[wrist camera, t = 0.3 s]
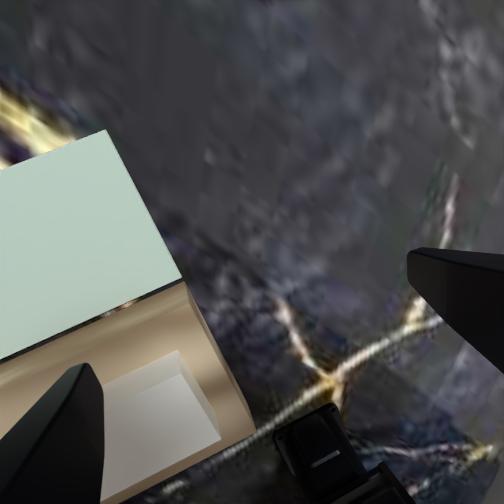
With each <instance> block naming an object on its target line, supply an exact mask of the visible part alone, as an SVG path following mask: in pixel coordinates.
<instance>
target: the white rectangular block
mask: <svg viewBox="0 0 504 504" xmlns="http://www.w3.org/2000/svg"><path fill="white" fill-rule="evenodd" d="M102 388H103V393H104V430H105V457H104V469H103V479H102V489H101V499H100V502H101V501H103V500H105V499H107V498H109V497H111V496H113V495H114V494H116V493H118V492H120V491H122V490H124V489H126V488H128V487H130V486H132V485H134V484H136V483H138V482H140V481H142V480H144V479H146V478H147V477H149V476H151V475H153V474H155V473H157V472H159V471H161V470H163V469H165V468H167V467H169V466H171V465H173V464H175V463H177V462H179V461H180V460H182V459H184V458H186V457H188V456H190V455H192V454H194V453H196V452H198V451H200V450H202V449H204V448H206V447H208V446H210V445H212V444H213V443H215V442H217V441H219V440H221V435H220V431H219V426H218V422H217V418H216V413H215V412H214V410H213V408H212V407H211V405H210V403H209V402H208V400H207V398H206V396H205V395H204V393H203V391H202V390H201V388H200V386H199V385H198V383H197V381H196V380H195V378H194V376H193V375H192V373H191V371H190V369H189V368H188V366H187V364H186V363H185V361H184V359H183V358H182V356H181V354H180V353H179V351H178V350H176V351H174V352H172V353H170V354H168V355H165V356H163V357H161V358H159V359H157V360H155V361H153V362H151V363H149V364H146V365H144V366H142V367H140V368H138V369H136V370H134V371H132V372H130V373H128V374H125V375H123V376H121V377H119V378H117V379H115V380H113V381H111V382H109V383H107V384H104V385H102Z"/></svg>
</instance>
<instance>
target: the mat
mask: <svg viewBox="0 0 504 504" xmlns="http://www.w3.org/2000/svg"><path fill="white" fill-rule="evenodd" d="M179 278H182V276H181V274H180V272H179V270H178V268H177V266H176V264H175V262H174V260H173V258H172V256H171V254H170V253H169V251H168V249H167V247H166V245H165V243H164V241H163V239H162V237H161V235H160V233H159V231H158V229H157V227H156V225H155V224H154V222H153V220H152V218H151V216H150V214H149V212H148V210H147V208H146V206H145V204H144V202H143V200H142V198H141V196H140V194H139V193H138V191H137V189H136V187H135V185H134V183H133V181H132V179H131V177H130V175H129V173H128V171H127V169H126V167H125V165H124V163H123V162H122V160H121V158H120V156H119V154H118V152H117V150H116V148H115V146H114V144H113V142H112V140H111V138H110V136H109V134H108V132H107V131H106V130H103V131H100V132H98V133H95V134H93V135H90V136H88V137H85V138H82V139H80V140H77V141H75V142H72V143H70V144H67V145H64V146H62V147H59V148H57V149H54V150H52V151H49V152H46V153H44V154H41V155H39V156H36V157H34V158H31V159H28V160H26V161H23V162H21V163H18V164H16V165H13V166H10V167H8V168H5V169H3V170H0V359H2V358H4V357H6V356H9V355H11V354H13V353H15V352H17V351H20V350H22V349H24V348H26V347H29V346H31V345H33V344H35V343H37V342H40V341H42V340H44V339H46V338H49V337H51V336H53V335H55V334H57V333H60V332H62V331H64V330H66V329H68V328H71V327H73V326H75V325H77V324H80V323H82V322H84V321H86V320H88V319H91V318H93V317H95V316H97V315H100V314H102V313H104V312H106V311H108V310H111V309H113V308H115V307H117V306H119V305H122V304H124V303H126V302H128V301H131V300H133V299H135V298H137V297H139V296H142V295H144V294H146V293H148V292H151V291H153V290H155V289H157V288H159V287H162V286H164V285H166V284H168V283H170V282H173V281H175V280H177V279H179Z"/></svg>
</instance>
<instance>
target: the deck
mask: <svg viewBox="0 0 504 504" xmlns="http://www.w3.org/2000/svg"><path fill="white" fill-rule="evenodd" d="M176 350H178V351H179V353H180V354H181V356H182V358H183V359H184V361H185V363H186V364H187V366H188V368H189V369H190V371H191V373H192V375H193V376H194V378H195V380H196V381H197V383H198V385H199V386H200V388H201V390H202V391H203V393H204V395H205V396H206V398H207V400H208V402H209V403H210V405H211V407H212V408H213V410H214V412H215V413H216V418H217V422H218V426H219V431H220V435H221V440H219V441H217V442H215V443H213V444H212V445H210V446H208V447H206V448H204V449H202V450H200V451H198V452H196V453H194V454H192V455H190V456H188V457H186V458H184V459H182V460H180V461H179V462H177V463H175V464H173V465H171V466H169V467H167V468H165V469H163V470H161V471H159V472H157V473H155V474H153V475H151V476H149V477H147V478H146V479H144V480H142V481H140V482H138V483H136V484H134V485H132V486H130V487H128V488H126V489H124V490H122V491H120V492H118V493H116V494H114V495H113V496H111V497H109V498H107V499H105V500H103V501H101V502H100V504H119V503H121V502H123V501H124V500H126V499H128V498H130V497H132V496H134V495H136V494H138V493H140V492H142V491H144V490H146V489H148V488H150V487H151V486H153V485H155V484H157V483H159V482H161V481H163V480H165V479H167V478H169V477H171V476H173V475H175V474H176V473H178V472H180V471H182V470H184V469H186V468H188V467H190V466H192V465H194V464H196V463H198V462H200V461H202V460H203V459H205V458H207V457H209V456H211V455H213V454H215V453H217V452H219V451H221V450H223V449H225V448H227V447H229V446H230V445H232V444H234V443H236V442H238V441H240V440H242V439H244V438H246V437H248V436H250V435H252V434H254V433H256V432H257V430H256V427H255V424H254V421H253V419H252V416H251V413H250V410H249V407H248V404H247V402H246V400H245V398H244V396H243V394H242V392H241V390H240V388H239V386H238V384H237V382H236V380H235V378H234V376H233V375H232V373H231V371H230V369H229V367H228V365H227V363H226V361H225V359H224V357H223V355H222V353H221V351H220V349H219V347H218V346H217V344H216V342H215V340H214V338H213V336H212V334H211V332H210V330H209V328H208V326H207V324H206V322H205V320H204V318H203V316H202V315H201V313H200V311H199V309H198V307H197V305H196V303H195V301H194V299H193V297H192V295H191V293H190V291H189V289H188V287H187V285H186V284H185V282H182V283H180V284H177V285H175V286H173V287H171V288H169V289H166V290H164V291H162V292H160V293H158V294H155V295H153V296H151V297H149V298H147V299H144V300H142V301H140V302H138V303H135V304H133V305H131V306H129V307H127V308H124V309H122V310H120V311H118V312H116V313H113V314H111V315H109V316H107V317H105V318H102V319H100V320H98V321H96V322H94V323H91V324H89V325H87V326H85V327H82V328H80V329H78V330H76V331H74V332H71V333H69V334H67V335H65V336H63V337H60V338H58V339H56V340H54V341H52V342H49V343H47V344H45V345H43V346H41V347H38V348H36V349H34V350H32V351H29V352H27V353H25V354H23V355H21V356H18V357H16V358H14V359H12V360H10V361H7V362H5V363H3V364H1V365H0V439H1V438H2V437H3V436H4V435H5V434H6V433H7V432H8V431H9V430H10V429H11V428H12V427H13V426H14V425H15V424H16V423H17V422H18V420H19V419H20V418H21V417H22V416H23V415H24V414H25V413H26V412H27V411H28V410H29V409H30V408H31V407H32V406H33V405H34V404H35V403H36V402H37V401H38V400H39V399H40V397H41V396H42V395H43V394H44V393H45V392H46V391H47V390H48V389H49V388H50V387H51V386H52V385H53V384H54V383H55V382H56V381H57V380H58V379H59V378H60V377H61V376H62V374H63V373H64V372H65V371H66V370H67V369H68V368H70V367H71V366H74V365H77V364H80V363H83V362H87V363H89V364H90V365H91V367H92V369H93V371H94V372H95V374H96V376H97V378H98V380H99V382H100V384H101V386H102V385H104V384H107V383H109V382H111V381H113V380H115V379H117V378H119V377H121V376H123V375H125V374H128V373H130V372H132V371H134V370H136V369H138V368H140V367H142V366H144V365H146V364H149V363H151V362H153V361H155V360H157V359H159V358H161V357H163V356H165V355H168V354H170V353H172V352H174V351H176Z"/></svg>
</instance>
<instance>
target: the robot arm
mask: <svg viewBox="0 0 504 504" xmlns="http://www.w3.org/2000/svg"><path fill="white" fill-rule="evenodd" d="M407 277H408V281H409V283H410V284H411V286H412V287H413V288H414V289H415V290H416V291H417V292H418V293H419V294H420V295H421V296H422V297H423V298H424V300H425V301H426V302H427V303H428V304H429V305H430V306H431V307H432V308H433V309H434V310H435V311H436V313H437V314H438V315H439V316H440V317H441V318H442V319H443V320H444V321H445V322H446V323H447V324H448V325H449V326H450V327H452V328H453V329H454V330H455V331H456V332H457V333H458V334H459V335H460V336H462V337H463V338H464V339H465V340H466V341H467V342H468V343H469V344H471V345H472V346H473V347H474V348H475V349H476V350H477V351H479V352H480V353H481V354H482V355H483V356H484V357H485V358H486V359H488V360H489V361H490V362H491V363H492V364H493V365H494V366H495V367H497V368H498V369H499V370H500V371H501V372H502V373H503V374H504V255H503V254H492V253H481V252H470V251H459V250H448V249H437V248H426V247H421V248H418V249H415V250H412V251H410V252H409V253H408V255H407ZM274 439H275V441H276V443H277V445H278V447H279V449H280V451H281V453H282V455H283V457H284V459H285V461H286V463H287V465H288V467H289V469H290V471H291V473H292V475H296V478H297V480H298V483H299V485H300V487H301V490H302V492H303V495H304V497H305V500H306V502H307V504H416V503H415V501H414V500H413V499H412V497H411V496H410V495H409V494H408V492H407V491H406V490H405V488H404V487H403V486H402V484H401V483H400V482H399V481H398V479H397V478H396V477H395V475H394V474H393V473H392V472H391V470H390V469H389V468H388V466H387V465H386V464H385V463H384V461H383V462H381V463H379V464H378V466H377V467H375V468H373V469H372V470H370V471H368V472H367V470H366V468H365V467H364V465H363V463H362V462H361V460H360V458H359V457H358V455H357V454H356V452H355V450H354V449H353V447H352V445H351V444H350V442H349V440H348V437H347V434H346V431H345V428H344V425H343V422H342V419H341V416H340V413H339V410H338V407H337V406H336V404H335V403H330V404H328V405H326V406H324V407H322V408H320V409H318V410H316V411H315V412H313V413H311V414H309V415H307V416H305V417H303V418H301V419H299V420H297V421H295V422H293V423H292V424H290V425H288V426H286V427H284V428H282V429H280V430H278V431H276V432H275V433H274ZM104 457H105V430H104V393H103V388H102V386H101V384H100V382H99V380H98V378H97V376H96V374H95V372H94V371H93V369H92V367H91V365H90V364H89V363H87V362H83V363H80V364H77V365H74V366H71V367H70V368H68V369H67V370H66V371H65V372H64V373H63V374H62V376H61V377H60V378H59V379H58V380H57V381H56V382H55V383H54V384H53V385H52V386H51V387H50V388H49V389H48V390H47V391H46V392H45V393H44V394H43V395H42V396H41V397H40V399H39V400H38V401H37V402H36V403H35V404H34V405H33V406H32V407H31V408H30V409H29V410H28V411H27V412H26V413H25V414H24V415H23V416H22V417H21V418H20V419H19V420H18V422H17V423H16V424H15V425H14V426H13V427H12V428H11V429H10V430H9V431H8V432H7V433H6V434H5V435H4V436H3V437H2V438H1V439H0V504H100V499H101V489H102V479H103V469H104Z"/></svg>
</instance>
